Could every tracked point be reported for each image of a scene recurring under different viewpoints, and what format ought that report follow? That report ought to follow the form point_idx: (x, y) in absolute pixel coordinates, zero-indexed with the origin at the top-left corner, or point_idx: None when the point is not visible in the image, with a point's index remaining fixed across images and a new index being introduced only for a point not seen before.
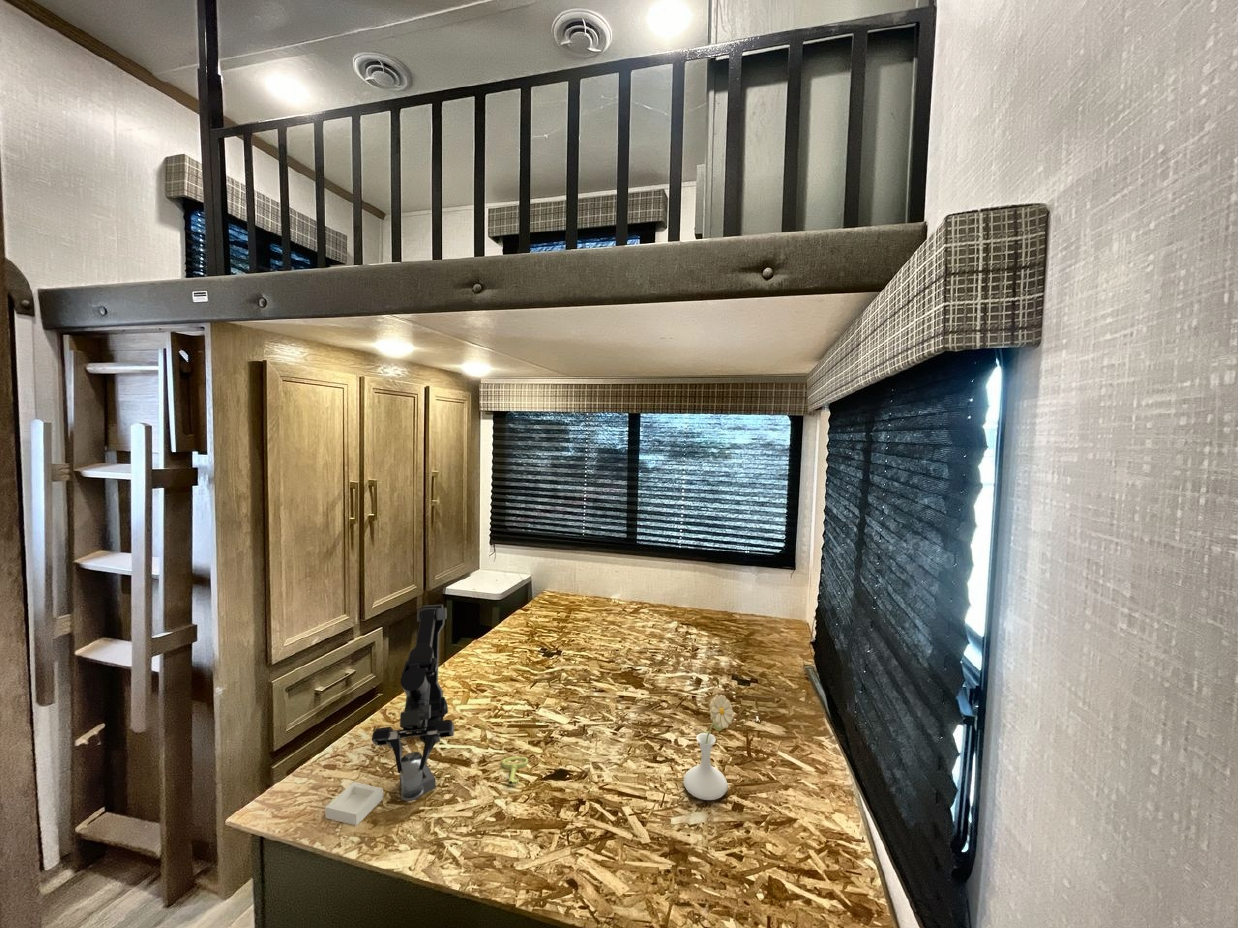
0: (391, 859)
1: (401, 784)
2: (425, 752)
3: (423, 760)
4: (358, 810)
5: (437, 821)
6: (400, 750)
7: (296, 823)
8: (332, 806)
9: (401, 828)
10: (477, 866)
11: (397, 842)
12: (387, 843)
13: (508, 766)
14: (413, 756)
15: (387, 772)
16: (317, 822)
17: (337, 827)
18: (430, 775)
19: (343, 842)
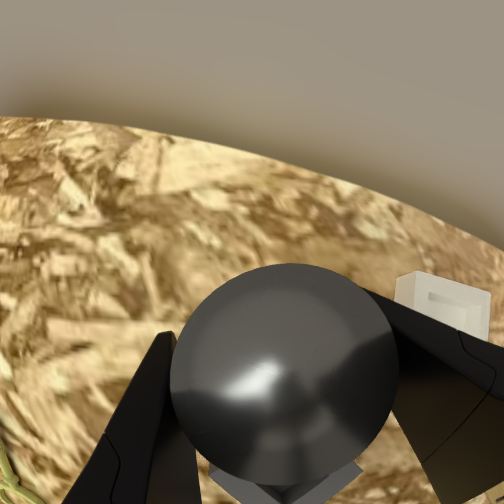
0: (230, 161)
1: None
2: (123, 437)
3: (147, 374)
4: (419, 286)
5: (139, 299)
6: (454, 421)
7: (499, 277)
8: (480, 297)
9: (252, 269)
10: (32, 160)
11: (239, 214)
12: (269, 210)
13: (24, 491)
14: (284, 417)
15: (402, 486)
16: (475, 283)
17: (433, 269)
18: (237, 488)
19: (391, 219)
